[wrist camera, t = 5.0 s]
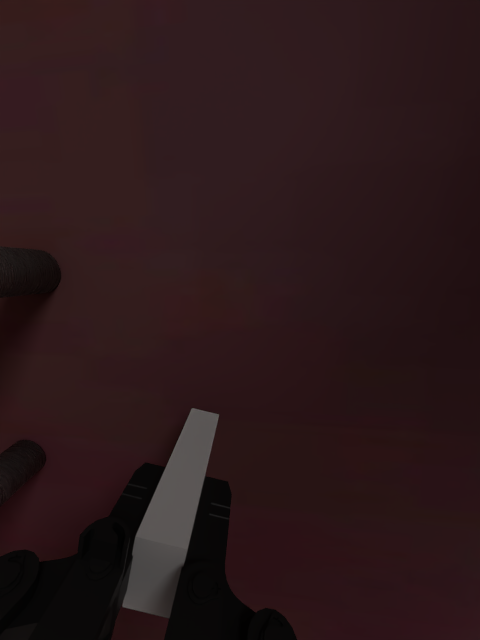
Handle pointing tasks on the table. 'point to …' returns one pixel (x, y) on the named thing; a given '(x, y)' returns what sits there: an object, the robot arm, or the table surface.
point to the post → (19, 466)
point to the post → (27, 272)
